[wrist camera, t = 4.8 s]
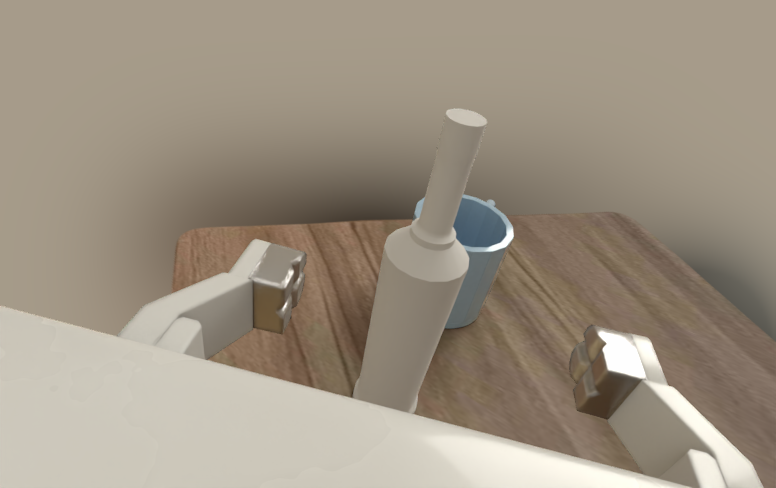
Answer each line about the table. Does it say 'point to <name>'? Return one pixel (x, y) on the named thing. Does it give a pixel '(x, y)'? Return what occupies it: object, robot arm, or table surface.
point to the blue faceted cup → (477, 254)
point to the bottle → (420, 276)
